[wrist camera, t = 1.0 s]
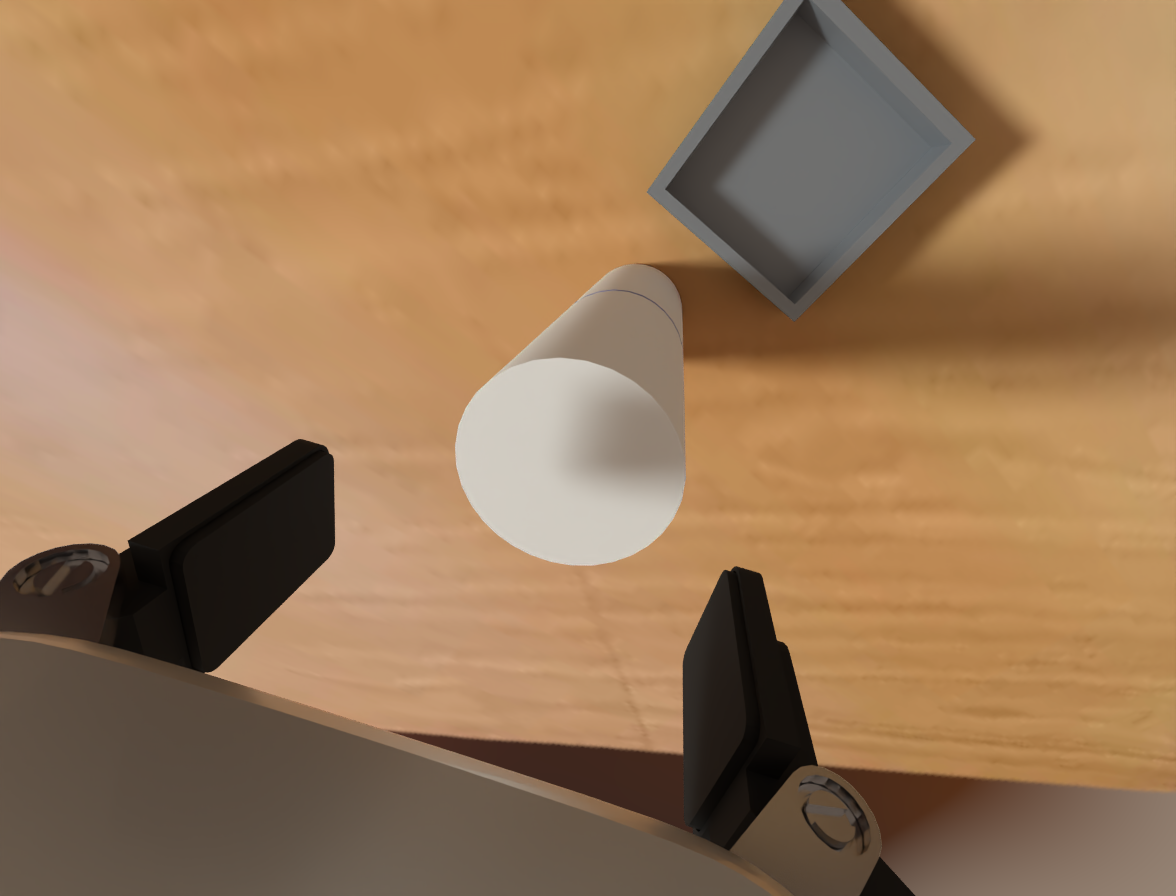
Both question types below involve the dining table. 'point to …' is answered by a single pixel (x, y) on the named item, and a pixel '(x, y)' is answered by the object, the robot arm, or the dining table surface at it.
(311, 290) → the dining table surface
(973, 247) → the dining table surface
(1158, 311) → the dining table surface
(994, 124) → the dining table surface
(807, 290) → the tray
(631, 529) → the cylindrical container
